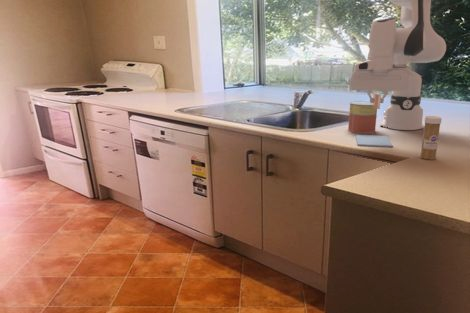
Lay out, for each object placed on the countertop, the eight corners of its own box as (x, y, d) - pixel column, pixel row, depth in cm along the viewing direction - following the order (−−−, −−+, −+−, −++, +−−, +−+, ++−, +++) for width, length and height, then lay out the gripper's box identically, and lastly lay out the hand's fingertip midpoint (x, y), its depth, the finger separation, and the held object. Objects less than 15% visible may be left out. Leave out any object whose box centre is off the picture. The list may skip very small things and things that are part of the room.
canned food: (377, 129, 163) (380, 102, 159) (372, 134, 153) (375, 105, 150) (351, 127, 168) (353, 100, 165) (345, 131, 159) (346, 103, 156)
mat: (355, 136, 150) (355, 134, 150) (387, 137, 147) (387, 136, 147) (357, 145, 135) (357, 144, 135) (392, 147, 132) (392, 145, 132)
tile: (372, 106, 142) (373, 92, 140) (377, 106, 141) (378, 92, 140) (374, 109, 134) (375, 95, 133) (379, 109, 134) (381, 95, 132)
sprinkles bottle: (426, 160, 117) (432, 118, 113) (416, 156, 121) (422, 115, 117) (439, 159, 117) (445, 117, 114) (429, 155, 122) (434, 115, 118)
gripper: (409, 64, 134) (405, 102, 138) (350, 64, 139) (347, 101, 143) (412, 64, 128) (408, 104, 132) (351, 65, 133) (348, 103, 137)
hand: (376, 102), depth 137 cm, fingers closed on tile, 2 cm apart
